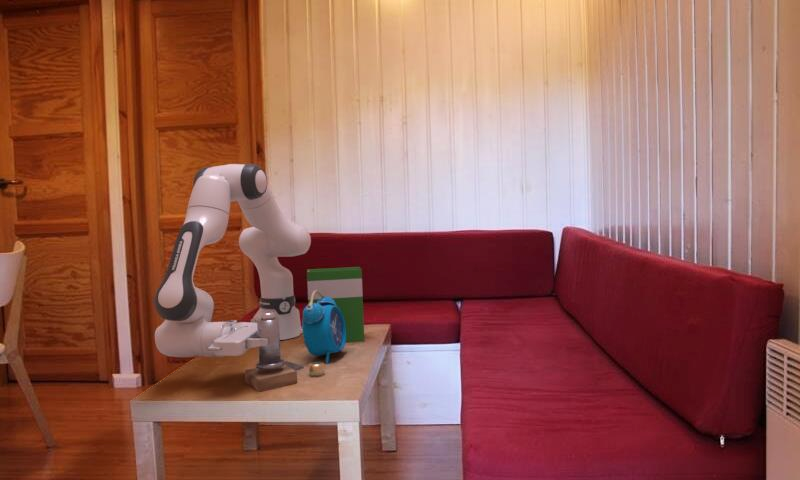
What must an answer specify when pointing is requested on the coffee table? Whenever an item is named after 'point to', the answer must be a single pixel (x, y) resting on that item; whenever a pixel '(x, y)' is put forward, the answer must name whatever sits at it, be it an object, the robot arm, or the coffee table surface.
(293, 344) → the coffee table surface
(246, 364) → the coffee table surface
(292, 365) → the steel plate
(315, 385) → the coffee table surface
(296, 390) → the coffee table surface
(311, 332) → the alarm clock
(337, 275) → the hardback book
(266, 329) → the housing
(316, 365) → the brass knob
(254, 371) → the stand
